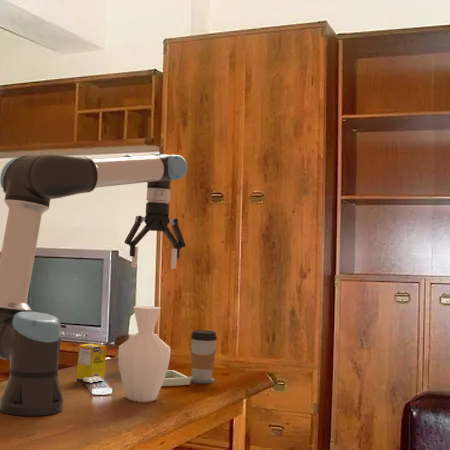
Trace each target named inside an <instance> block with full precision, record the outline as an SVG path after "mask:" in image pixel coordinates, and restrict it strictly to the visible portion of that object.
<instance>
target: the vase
mask: <svg viewBox="0 0 450 450" xmlns="http://www.w3.org/2000/svg"><path fill="white" fill-rule="evenodd" d="M132 308H133V312H134V316H135V321H136V326H137V327H136V328H137V331H138V332H136V333H134V334H135V335H134V336H132V337H131V338H130V337H129V338H128V339H127V340H126V341H124V342H122V344H120V345H118V355H117V359H118V360H117V361H118V370H119V374H120V379H121V383H122V387H123V390H124V394H125V397H126V398H127V400H129V401H132V402H136V401H137V402H140V403H141V402H143V403H144V402H146V403H147V402H152V401H156V399H158V396H159V393H160V390H161V389H162V387H163V386H162V384H163V381H164V378H166V377H165V375H166V372H167V370H169V364H170V359H171V346H169V345H168V344H167V343H166V342H165V341H164V340H162V338H160V337H159V335H158V336H156V335H155V334H156V333H154V330H155V327H156V325H157V321H158V319H159V315H160V312H161V309H162V307H160V306H153V305H152V306H151V305H150V306H149V305H135V306H133V307H132Z"/></svg>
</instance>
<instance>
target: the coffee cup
mask: <svg viewBox="0 0 450 450" xmlns="http://www.w3.org/2000/svg"><path fill="white" fill-rule="evenodd" d="M216 334H217V332H216V331H212V330H204V329H200V330H199V329H197V330H192V334H191V335H190V339H191V340H190V341H191V342H190V343H191V344H190V345H191V348H190V354H191V355H190V363H191V366H190V367H191V368H190V369H191V376H192V379H193V380H196V381H210V380H211V378H213V371H214V365H215V355H216V346H217V345H216V343H217V341H218V339H217V337H218V336H217V335H216Z"/></svg>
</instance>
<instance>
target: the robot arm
mask: <svg viewBox="0 0 450 450" xmlns="http://www.w3.org/2000/svg"><path fill="white" fill-rule="evenodd" d="M187 165H188V163H187V161H186V160H185V158H184V157H183V156H182V155H179V154H162V153H151V154H149V155H145V156H144V155H143V156H138V155H133V154H132V155H131V154H126V155H124V156H122V157H118V158H117V157H116V158H100V159H92V158H91V157H90V156H71V155H64V154H63V155H61V154H39V155H36V154H35V155H22V156H18V157H15V158H12V159H10V160H9V161H8V162H6V164H5V165H4V167H3V168H2V170H1V173H0V188H2V192H3V193H4V194H5V197H4V203H5V205H6V206H7V207H8V212H7V218H6V224H5V229H4V236H3V241H2V245H1V246H2V247H1V252H0V359H1V360H5V361H9V362H10V363H9V378H8V380H7V382H6V385H5V387H4V390H3V392H2V395H1V398H0V411H1V412H2V413H5V414H8V415H15V416H23V417H26V416H27V417H32V416H33V417H35V416H36V417H38V416H47V415H53V414H54V415H55V414H57V413H60V412H62V411H63V409H64V397H63V395H62V394H63V393H62V390H61V385H60V382H59V379H58V378H59V365H60V364H59V362H60V351H61V350H60V348H61V337H62V332H61V331H62V329H61V321H60V319H59V318H57V317H56V316H54V315H52V314H49V313H45V312H38V311H32V308H31V307H30V306H29V304H28V297H29V290H30V285H31V279H32V274H33V267H34V262H35V256H36V250H37V245H38V239H39V234H40V227H41V221H42V215H43V214H44V213H45V212H47V211H48V210H49V209H50V204H51V200H55V199H62V198H65V197H70V196H75V195H79V194H86V193H91V192H93V191H94V190H95V189H96V188H104V187H105V188H106V187H115V186H125V185H126V186H127V185H133V184H141V183H142V184H144V183H146V184H147V185H146V199H145V200H146V201H147V202H146V204H145V216H142V215H136V216H135V220H134V223H133V225H132V227H131V228H130V231H129V233H128V234H127V236H126V238H125V240H124V244H126V245H128V246H129V257H131V268H137V266H138V251H139V247H138V246H137V245H138V244H139V243H140V242H141V240H142V239H144V237H145V236H146V235H147V233H148V232H150V231H152V232H162V233H163V234H164V235H165V236H166V238H167V239H168V241H169V242H170V244H171V245H172V247H173V248H171V260H170V269H174V270H177V264H178V263H177V262H178V261H177V260H178V259H179V258H180V250H181V249H182V248H185V247H186V242H185V240H184V238H183V235H182V232H181V230H180V227H179V220H178V218H170V204H169V202H170V201H171V197H170V196H171V183H172V181H177V180H178V181H179V180H182V179H183V178H184V177H185V176H186V174H187V171H188V168H187V167H188V166H187ZM143 222H144V223H145V226H144V227H142V229H141V230H140V231H139V232H138V230H139V228H140V227H141V225H142V224H143ZM169 224H170V226H171V228H172V231H173V233H174V234H172V231H170V228H169V227H168V225H169ZM137 232H138V234H137ZM136 234H137V235H136Z"/></svg>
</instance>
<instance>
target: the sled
mask: <svg viewBox="0 0 450 450" xmlns="http://www.w3.org/2000/svg"><path fill="white" fill-rule="evenodd" d="M135 334H136V333H130V334H129V339H130V338H131V337H132V336H134V335H135ZM154 334H155V335H156V336H158V337H159V334H157V333H154ZM189 377H190V376H187V375H185V374H183V373H181V372H179V371H177V370H173V369H172V370H171V369H170V370H169V369H167V372H166V375H165V378H164V381H163V384H162V386H161V387H167V386H185V385H187V386H188V385H191V382H190V378H189Z"/></svg>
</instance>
